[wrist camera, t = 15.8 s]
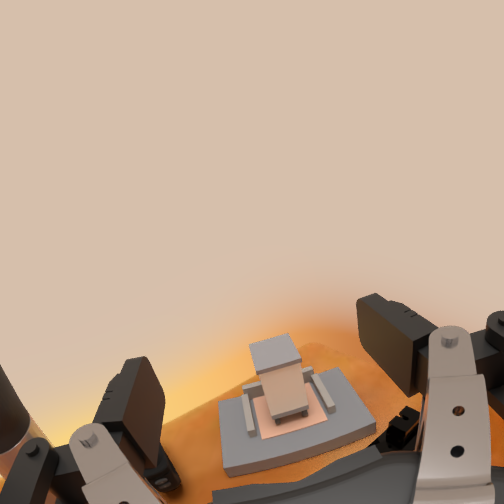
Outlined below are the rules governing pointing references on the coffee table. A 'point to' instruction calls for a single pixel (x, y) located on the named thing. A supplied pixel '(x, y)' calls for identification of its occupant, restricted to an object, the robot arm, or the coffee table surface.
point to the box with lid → (280, 376)
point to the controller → (162, 473)
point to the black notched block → (399, 433)
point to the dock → (291, 424)
